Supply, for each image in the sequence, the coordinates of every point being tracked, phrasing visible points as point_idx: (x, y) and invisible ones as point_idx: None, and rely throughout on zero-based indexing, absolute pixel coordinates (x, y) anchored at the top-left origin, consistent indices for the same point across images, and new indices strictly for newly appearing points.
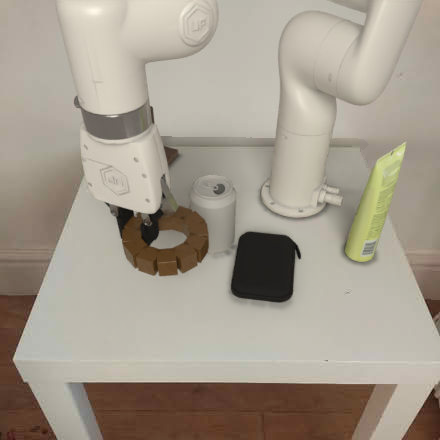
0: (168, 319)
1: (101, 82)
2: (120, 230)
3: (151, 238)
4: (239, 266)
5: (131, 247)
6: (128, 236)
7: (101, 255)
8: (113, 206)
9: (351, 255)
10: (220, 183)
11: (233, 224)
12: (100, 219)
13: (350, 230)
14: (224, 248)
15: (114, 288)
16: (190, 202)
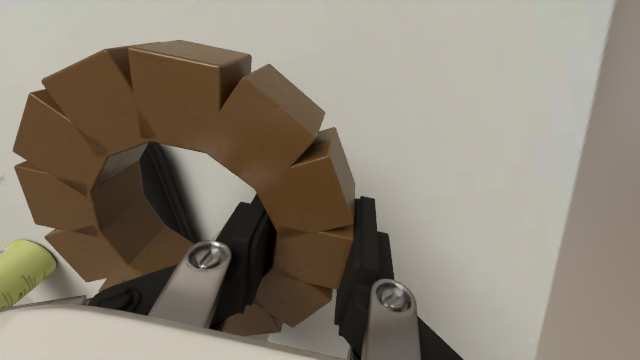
0: (255, 42)
1: None
2: (369, 222)
3: (248, 205)
4: (149, 196)
5: (270, 127)
6: (312, 190)
7: (465, 195)
8: (390, 336)
9: (29, 248)
10: None
11: None
12: (488, 281)
13: (12, 291)
14: (214, 238)
15: (410, 107)
16: (248, 337)
